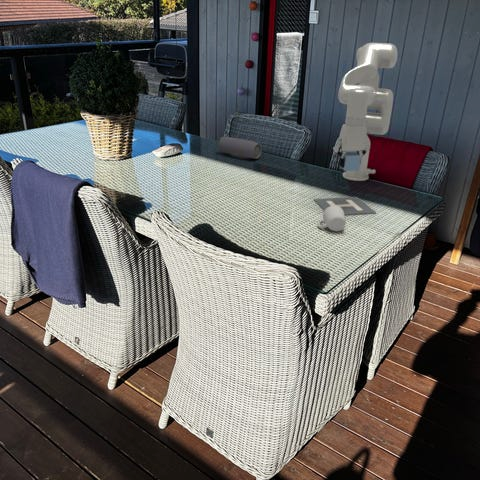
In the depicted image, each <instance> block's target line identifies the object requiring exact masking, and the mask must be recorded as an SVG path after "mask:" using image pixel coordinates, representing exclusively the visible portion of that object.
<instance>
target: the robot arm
mask: <svg viewBox="0 0 480 480" xmlns="http://www.w3.org/2000/svg"><path fill="white" fill-rule="evenodd" d="M397 60H398V48H397V47H396V45H395V44H393V43H387V42H385V43H384V42H369V43H368V42H367V43H366V44H363V46H360V47H359V48H358V49H357V51H356V63H357V64H356V66H355V67H353V68H351V70H349V71H348V72H347V73H345V75H344V76H343V77H342V79H341V82H340V86H339V89H338V93H337V94H338V95H337V98H338V102H340V103H341V104H344V105H347V106H346V114H345V119H344V120H345V122H344V123H345V124H342V126H341V129H340V131H339V132H340V133H339V137H338V142H337V143H336V144H335V146H334V147H333V148H332V149H333V151H334V152H335V153H336V154H337V156H338V157H339V159H338V167H339V166H340V167H341V168H340V167H339V168H340V169H342V168H344V163H345V158H344V156H345V154H346V152H356V153H358V154H359V155H361V161H360V168H359V170H358V171H343V173H342V177H343V178H344V179H346V180H349V181H353V182H354V181H355V182H364V181H367V180H369V178H370V177H369V176H370V174H371V175H374V174H376V169H371V168H368V163H369V155H370V149H371V140H370V138H369V136H368V134H372V135H381V136H382V135H386V134H387V133H388V131H389V128H390V123H391V117H392V109H393V104H394V103H393V102H394V92H393V91H392V90H391V89H390V88H389V89H388V88H383V87H381V88H380V87H379V82H380V74H379V72H378V69H392V68H394V67H395V65H397ZM368 110H374V111H375V110H376V111H380V113H379V112H372V111H368ZM339 149H340V150H339Z"/></svg>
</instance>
